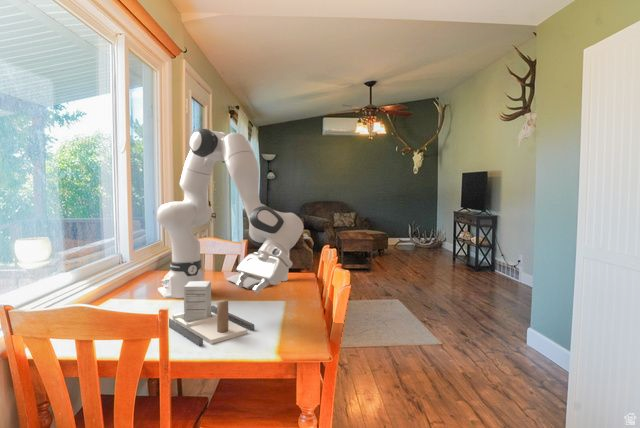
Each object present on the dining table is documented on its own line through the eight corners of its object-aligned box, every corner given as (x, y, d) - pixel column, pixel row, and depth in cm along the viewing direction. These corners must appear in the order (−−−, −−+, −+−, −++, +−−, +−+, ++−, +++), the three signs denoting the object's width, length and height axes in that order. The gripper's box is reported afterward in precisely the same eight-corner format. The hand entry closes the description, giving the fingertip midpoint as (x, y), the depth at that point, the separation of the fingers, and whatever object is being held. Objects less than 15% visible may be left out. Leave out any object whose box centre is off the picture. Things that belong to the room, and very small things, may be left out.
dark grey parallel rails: (162, 322, 122) (162, 316, 121) (212, 310, 134) (212, 305, 134) (199, 346, 103) (199, 339, 103) (254, 330, 116) (254, 324, 116)
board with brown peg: (172, 320, 123) (172, 290, 122) (206, 312, 131) (206, 284, 131) (211, 344, 104) (210, 308, 104) (247, 333, 113) (247, 300, 112)
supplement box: (189, 317, 126) (189, 280, 126) (211, 317, 127) (211, 280, 126) (183, 325, 119) (183, 286, 118) (207, 324, 120) (206, 286, 119)
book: (253, 277, 190) (253, 270, 190) (277, 286, 172) (277, 278, 172) (225, 281, 180) (225, 273, 180) (247, 291, 163) (247, 283, 162)
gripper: (247, 245, 128) (222, 277, 122) (285, 252, 114) (259, 289, 108) (258, 256, 132) (234, 288, 125) (296, 265, 117) (271, 301, 111)
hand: (246, 289), depth 116 cm, fingers open, 8 cm apart
